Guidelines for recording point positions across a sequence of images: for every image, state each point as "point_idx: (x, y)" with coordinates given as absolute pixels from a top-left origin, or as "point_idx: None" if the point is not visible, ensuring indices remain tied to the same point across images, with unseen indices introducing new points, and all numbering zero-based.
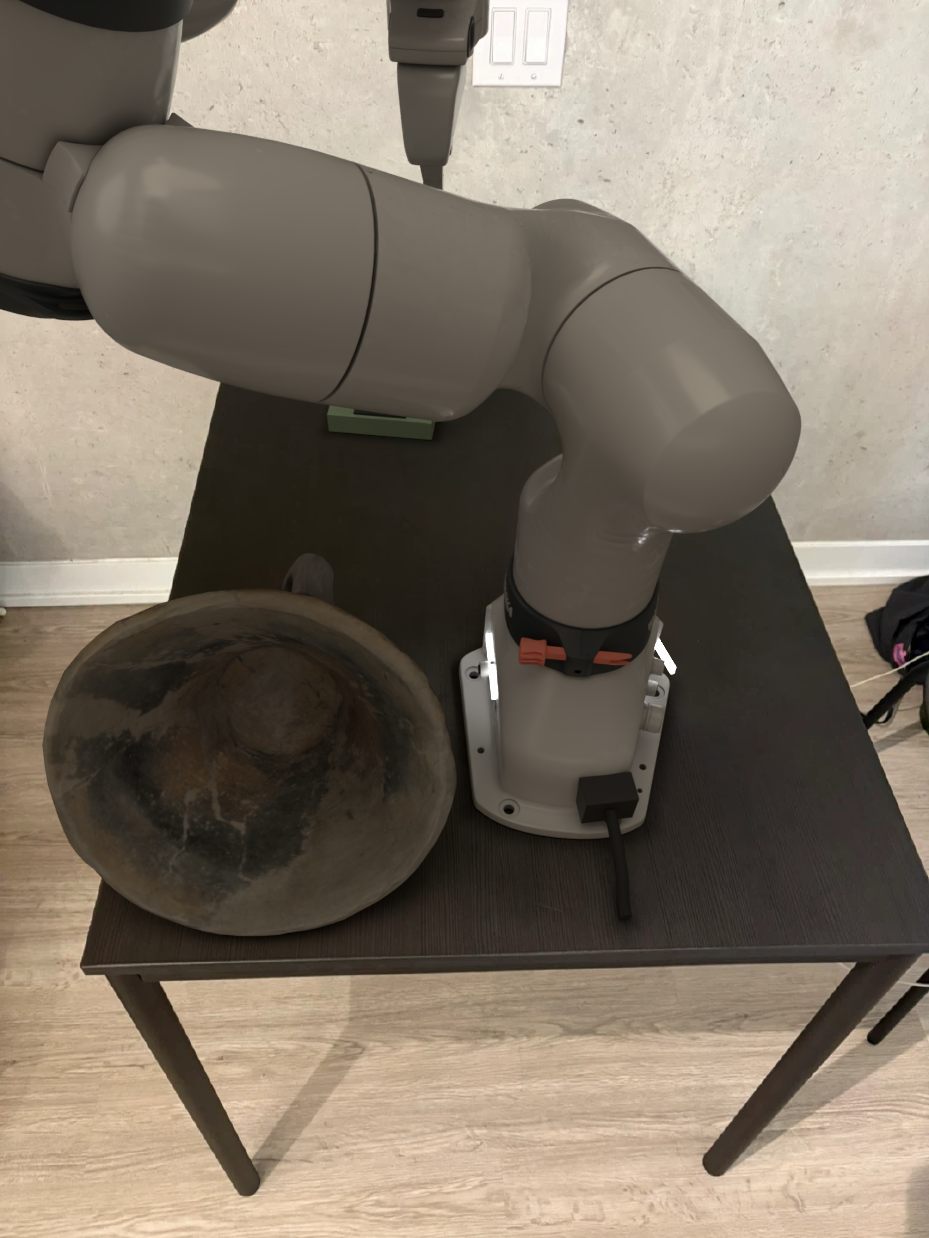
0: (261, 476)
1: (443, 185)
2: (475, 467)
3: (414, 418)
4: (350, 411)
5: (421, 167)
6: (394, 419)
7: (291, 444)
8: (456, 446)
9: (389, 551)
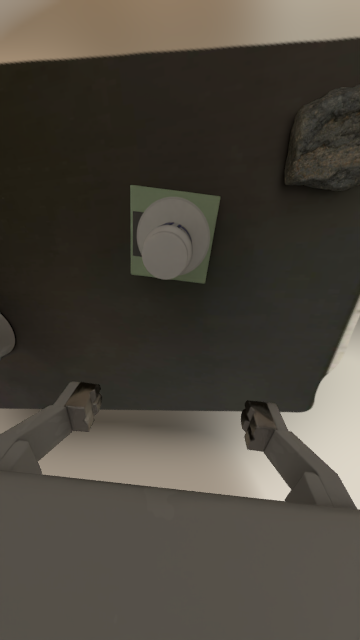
0: (69, 125)
1: (95, 414)
2: (112, 297)
3: (134, 261)
4: (137, 207)
5: (6, 434)
6: (131, 246)
7: (114, 151)
8: (130, 286)
9: (26, 244)
